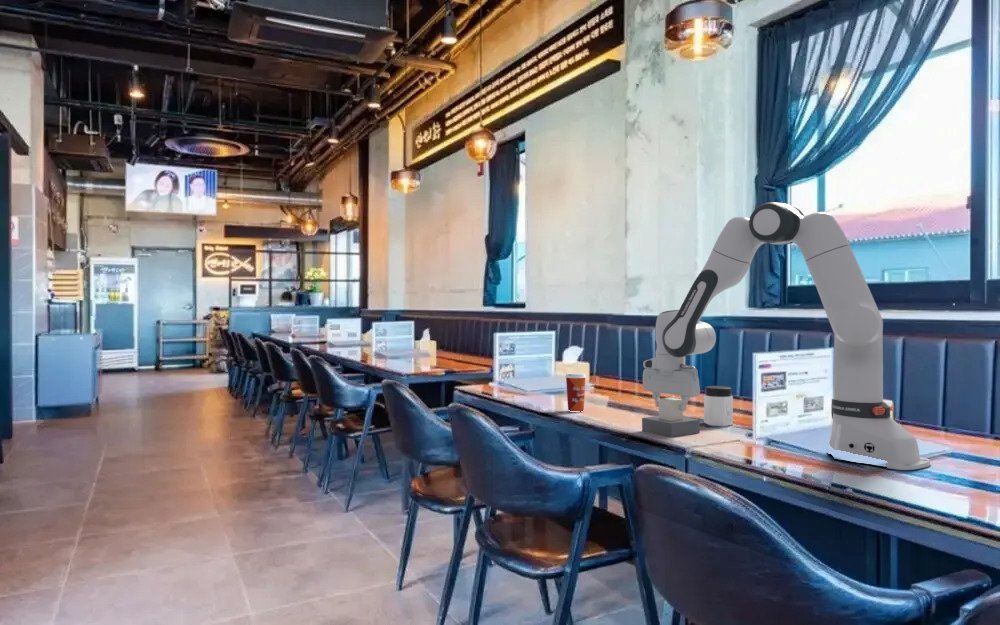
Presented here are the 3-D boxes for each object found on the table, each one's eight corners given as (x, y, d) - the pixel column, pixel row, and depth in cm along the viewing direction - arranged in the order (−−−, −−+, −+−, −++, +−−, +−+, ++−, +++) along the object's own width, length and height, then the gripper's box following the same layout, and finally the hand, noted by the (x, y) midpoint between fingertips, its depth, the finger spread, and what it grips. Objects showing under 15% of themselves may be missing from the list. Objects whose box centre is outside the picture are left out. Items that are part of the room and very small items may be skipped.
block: (682, 419, 198) (682, 399, 198) (671, 420, 195) (671, 400, 195) (670, 416, 202) (670, 397, 202) (658, 418, 200) (658, 398, 199)
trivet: (699, 432, 197) (699, 419, 197) (671, 437, 191) (671, 423, 190) (669, 426, 207) (669, 414, 207) (642, 430, 201) (642, 417, 201)
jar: (719, 427, 206) (719, 389, 206) (699, 423, 213) (699, 387, 213) (737, 424, 211) (737, 387, 211) (716, 421, 218) (716, 385, 218)
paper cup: (576, 413, 234) (576, 374, 234) (561, 411, 240) (560, 373, 239) (591, 411, 239) (590, 373, 239) (575, 409, 245) (575, 371, 245)
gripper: (704, 365, 192) (704, 412, 192) (653, 360, 209) (653, 403, 209) (689, 366, 188) (689, 414, 188) (639, 361, 206) (639, 405, 206)
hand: (670, 408), depth 199 cm, fingers open, 8 cm apart
